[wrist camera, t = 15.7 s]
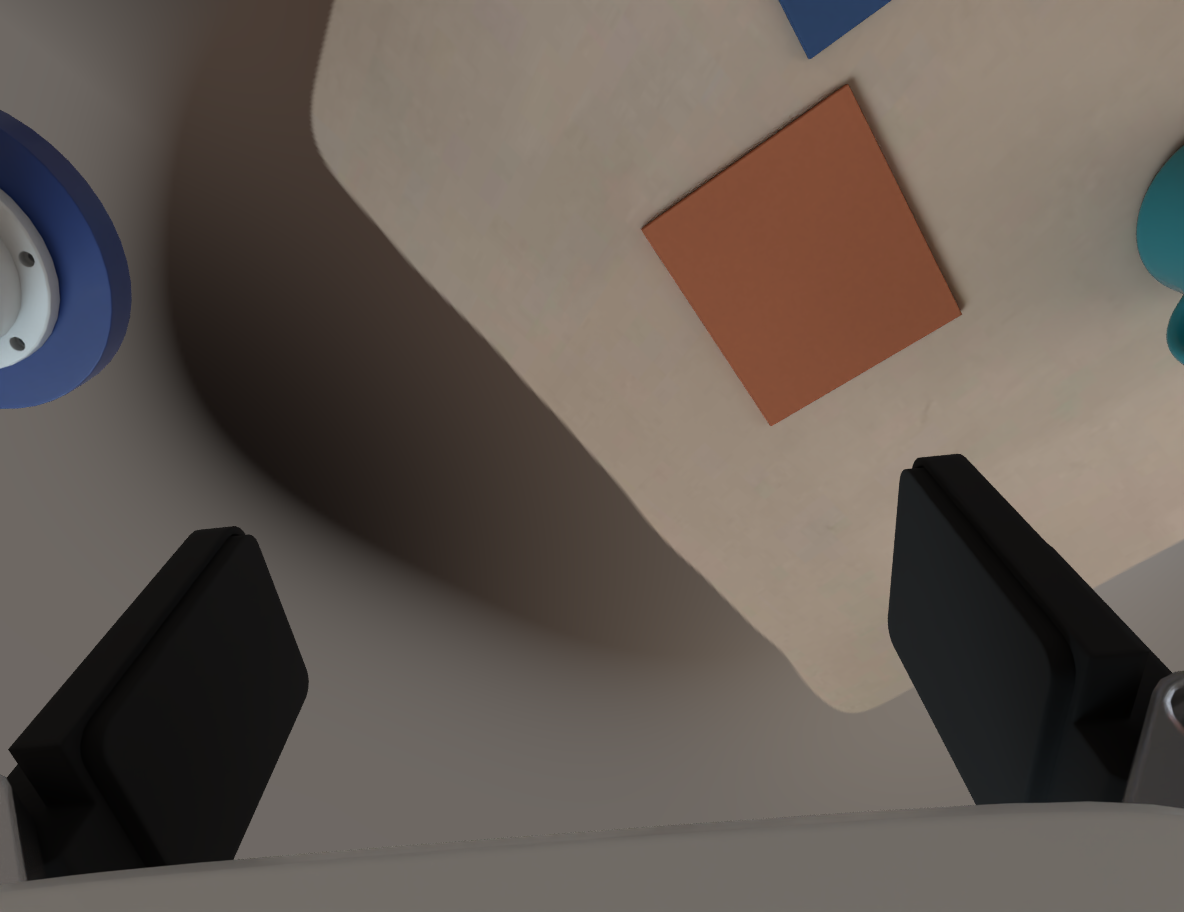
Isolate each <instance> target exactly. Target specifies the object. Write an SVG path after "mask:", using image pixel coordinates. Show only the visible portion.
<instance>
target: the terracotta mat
mask: <svg viewBox="0 0 1184 912" xmlns="http://www.w3.org/2000/svg"><path fill="white" fill-rule="evenodd" d="M641 230H642V232H643V233H644V235H645V236H646V238H647V239H648V241H649V242H650V244H651V246H652V247H653V249H654V250H655V252H656V253H657V255H658V256H659V258H660V259H661V261H662V262H663V264H664V265H665V267H666V268H667V270H668V271H669V273H670V274H671V276H672V277H673V279H674V280H675V282H676V283H677V285H678V286H679V288H680V290H681V291H682V293H683V294H684V296H685V297H686V299H687V300H688V302H689V303H690V305H691V306H692V308H693V309H694V311H695V312H696V314H697V315H698V317H699V318H700V320H701V321H702V323H703V324H704V326H705V327H706V329H707V331H708V332H709V334H710V335H711V337H712V338H713V340H714V341H715V343H716V344H717V346H718V347H719V349H720V350H721V352H722V353H723V355H724V356H725V358H726V359H727V361H728V362H729V364H730V365H731V367H732V368H733V370H734V371H735V373H736V375H737V376H738V378H739V379H740V381H741V382H742V384H743V385H744V387H745V388H746V390H747V391H748V393H749V394H750V396H751V397H752V399H753V400H754V402H755V403H756V405H757V406H758V408H759V409H760V411H761V412H762V414H763V415H764V417H765V419H766V420H767V422H768V423H769V425H770V426H772V425H774V424H776V423H778V422H779V421H781V420H783V419H784V418H786V417H788V416H790V415H791V414H793V413H795V412H796V411H798V410H800V409H801V408H803V407H805V406H807V405H808V404H810V403H812V402H813V401H815V400H817V399H819V398H820V397H822V396H824V395H825V394H827V393H829V392H831V391H832V390H834V389H836V388H837V387H839V386H841V385H842V384H844V383H846V382H848V381H849V380H851V379H853V378H854V377H856V376H858V375H860V374H861V373H863V372H865V371H866V370H868V369H870V368H872V367H873V366H875V365H877V364H878V363H880V362H882V361H883V360H885V359H887V358H889V357H890V356H892V355H894V354H895V353H897V352H899V351H901V350H902V349H904V348H906V347H907V346H909V345H911V344H913V343H914V342H916V341H918V340H919V339H921V338H923V337H925V336H926V335H928V334H930V333H931V332H933V331H935V330H936V329H938V328H940V327H942V326H943V325H945V324H947V323H948V322H950V321H952V320H954V319H955V318H957V317H959V316H960V315H962V313H961V311H960V309H959V307H958V305H957V303H956V301H955V299H954V297H953V295H952V293H951V291H950V289H949V287H948V285H947V283H946V281H945V279H944V277H943V275H942V273H941V271H940V269H939V267H938V265H937V263H936V261H935V259H934V257H933V255H932V252H931V250H930V248H929V246H928V244H927V242H926V240H925V238H924V236H923V234H922V232H921V230H920V228H919V226H918V224H917V222H916V220H915V218H914V216H913V214H912V212H911V210H910V208H909V206H908V204H907V202H906V200H905V198H904V196H903V194H902V192H901V190H900V188H899V186H898V184H897V182H896V180H895V178H894V176H893V174H892V172H891V170H890V168H889V166H888V164H887V162H886V160H885V157H884V155H883V153H882V151H881V149H880V147H879V145H878V143H877V141H876V139H875V137H874V135H873V133H872V131H871V129H870V127H869V125H868V123H867V121H866V119H865V117H864V115H863V113H862V111H861V109H860V107H859V105H858V103H857V101H856V99H855V97H854V95H853V93H852V91H851V89H850V87H849V85H848V84H845V85H844V86H843V87H841V88H840V89H838V90H837V91H835V92H834V93H833V94H831V95H830V96H828V97H827V98H826V99H824V100H823V101H821V102H820V103H818V104H817V105H816V106H814V107H813V108H811V109H810V110H809V111H807V112H806V113H804V114H803V115H801V116H800V117H799V118H797V119H796V120H794V121H793V122H792V123H790V124H789V125H787V126H786V127H784V128H783V129H782V130H780V131H779V132H777V133H776V134H775V135H773V136H772V137H770V138H769V139H767V140H766V141H765V142H763V143H762V144H760V145H759V146H758V147H756V148H755V149H753V150H752V151H750V152H749V153H748V154H746V155H745V156H743V157H742V158H741V159H739V160H738V161H736V162H735V163H733V164H732V165H731V166H729V167H728V168H726V169H725V170H724V171H722V172H721V173H719V174H718V175H716V176H715V177H714V178H712V179H711V180H709V181H708V182H707V183H705V184H704V185H702V186H701V187H699V188H698V189H697V190H695V191H694V192H692V193H691V194H690V195H688V196H687V197H685V198H684V199H682V200H681V201H680V202H678V203H677V204H675V205H674V206H673V207H671V208H670V209H668V210H667V211H665V212H664V213H663V214H661V215H660V216H658V217H657V218H656V219H654V220H653V221H651V222H650V223H648V224H647V225H646V226H644V227H643V228H642V229H641Z"/></svg>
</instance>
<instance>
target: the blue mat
mask: <svg viewBox="0 0 1184 912" xmlns="http://www.w3.org/2000/svg"><path fill="white" fill-rule="evenodd" d="M890 1H891V0H779V2H780V4H781V6H782V8H783V10H784V12H785V14H786V16H787V18H788V20H789V22H790V24H791V26H792V28H793V29H794V31H795V33H796V35H797V37H798V39H799V41H800V43H801V45H802V47H803V49H804V51H805V53H806V55H807V57H808V59H811V58H813V57H814V56H815V55H817V54H818V53H820V52H821V51H822V50H824V49H825V48H826V47H828V46H829V45H831V44H832V43H833V42H835V41H836V40H837V39H839V38H840V37H842V36H843V35H844V34H846V33H847V32H848V31H850V30H851V29H853V28H854V27H855V26H857V25H858V24H859V23H861V22H862V21H864V20H865V19H866V18H868V17H869V16H870V15H872V14H873V13H875V12H876V11H877V10H879V9H880V8H881V7H883V6H884V5H886V4H887V3H888V2H890Z"/></svg>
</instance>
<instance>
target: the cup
mask: <svg viewBox="0 0 1184 912" xmlns="http://www.w3.org/2000/svg"><path fill="white" fill-rule="evenodd" d="M1136 241H1137V247H1138V251H1139V255H1140V257H1141V260H1142V262H1143V264H1144V266H1145V267H1146V269H1147V270H1148V272H1149V273H1150V274H1151V275H1152V276H1153V277H1154V278H1155V279H1156V280H1157V281H1158V282H1160V283H1161V284H1163V285H1164V286H1166V287H1168V288H1170V289H1172V290H1174V291H1177V292H1179V293H1182V294H1183V296H1182V298H1181V299H1180V301H1179V303H1178V304H1177V306H1176V307H1175V309H1174V311H1173V313H1172V315H1171V317H1170V320H1169V323H1168V327H1167V333H1166V339H1167V344H1168V347H1169V349H1170V351H1171V353H1172V355H1173V356H1174V357H1175V358H1176V359H1177V360H1178V361H1179V362H1180V363H1181V364H1183V365H1184V145H1183V146H1182V147H1181V148H1180V149H1178V150H1177V151H1176V152H1175V153H1174V154H1173V155H1172V156H1171V157H1170V158H1169V160H1168V161H1167V162H1166V163H1165V164H1164V165H1163V167H1162V168H1161V169H1160V171H1159V172H1158V173H1157V175H1156V176H1155V178H1154V179H1153V181H1152V183H1151V184H1150V186H1149V188H1148V190H1147V192H1146V194H1145V196H1144V199H1143V201H1142V204H1141V207H1140V210H1139V215H1138V219H1137V227H1136Z"/></svg>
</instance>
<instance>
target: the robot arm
mask: <svg viewBox="0 0 1184 912" xmlns="http://www.w3.org/2000/svg"><path fill="white" fill-rule="evenodd" d="M59 304H60V294H59V282H58V277H57V274H56V270H55V267H54V263H53V260H52V257H51V255H50V253H49V251H48V249H47V247H46V245H45V242H44V240H43V238H42V237H41V235H40V234H39V232H38V231H37V229H36V228H35V226H34V225H33V223H32V222H31V220H30V219H29V217H28V216H27V215H26V214H25V213H24V212H23V211H22V209H21V208H20V207H19V206H18V205H17V204H16V203H15V202H14V200H13V199H12V198H11V197H10V196H8V195H7V194H6V193H5V192H4V191H3V190H1V189H0V369H1V368H4V367H7V366H11V365H13V364H15V363H17V362H19V361H21V360H23V359H25V358H27V357H29V356H30V355H31V354H33V353H34V352H35V351H37V350H38V349H39V348H40V347H42V346H43V344H44V343H45V341H46V340H47V339H48V337H49V336H50V335H51V333H52V331H53V328H54V326H55V323H56V321H57V318H58V311H59ZM888 629H889V634H890V638H891V641H892V644H893V646H894V648H895V650H896V652H897V654H898V656H899V658H900V659H901V661H902V663H903V665H904V667H905V669H906V671H907V673H908V675H909V677H910V679H911V681H912V683H913V684H914V686H915V688H916V690H917V692H918V694H919V696H920V698H921V700H922V702H923V704H924V705H925V708H926V709H927V711H928V713H929V715H930V717H931V719H932V721H933V723H934V725H935V727H936V729H937V730H938V733H939V734H940V736H941V738H942V740H943V742H944V744H945V746H946V748H947V750H948V752H949V754H950V755H951V757H952V759H953V761H954V763H955V765H956V767H957V769H958V771H959V773H960V775H961V777H962V779H963V781H964V783H965V785H966V786H967V788H968V790H969V792H970V794H971V796H972V798H973V800H974V802H975V804H976V805H968V806H952V807H935V808H919V809H900V810H881V811H864V812H852V813H851V812H850V813H837V814H822V815H809V816H794V817H780V818H766V819H752V820H738V821H725V822H711V823H696V824H683V825H668V826H654V827H641V828H628V829H615V830H601V831H588V832H576V833H562V834H549V835H536V836H523V837H510V838H497V839H484V840H471V841H459V842H446V843H435V844H421V845H407V846H395V847H383V848H371V849H359V850H347V851H334V852H323V853H310V854H299V855H286V856H274V857H262V858H250V859H238V860H233V859H234V857H235V855H236V852H237V850H238V848H239V846H240V843H241V841H242V839H243V837H244V835H245V832H246V830H247V828H248V826H249V823H250V821H251V819H252V817H253V814H254V812H255V810H256V808H257V806H258V803H259V801H260V799H261V797H262V794H263V792H264V790H265V788H266V785H267V783H268V781H269V779H270V777H271V774H272V772H273V770H274V768H275V765H276V763H277V761H278V759H279V756H280V754H281V752H282V750H283V748H284V745H285V743H286V741H287V738H288V736H289V734H290V732H291V730H292V727H293V725H294V723H295V721H296V718H297V716H298V714H299V712H300V710H301V707H302V705H303V703H304V700H305V698H306V695H307V692H308V683H309V680H308V673H307V669H306V667H305V664H304V662H303V659H302V656H301V654H300V651H299V649H298V646H297V643H296V641H295V638H294V635H293V633H292V630H291V628H290V625H289V622H288V620H287V617H286V615H285V612H284V610H283V607H282V604H281V602H280V599H279V596H278V594H277V592H276V589H275V586H274V583H273V581H272V578H271V576H270V573H269V570H268V568H267V565H266V563H265V560H264V557H263V555H262V552H261V550H260V548H259V544H258V542H257V541H256V539H255V538H254V537H253V536H252V535H245V533H244V532H243V531H242V530H241V529H240V528H239V527H236V526H232V527H223V528H213V529H202V530H197V531H194V532H193V533H192V534H191V535H189V537H188V538H187V539H186V540H185V541H184V543H183V544H182V545H181V546H180V547H179V548H178V550H177V551H176V552H175V553H174V554H173V556H172V557H171V558H170V559H169V560H168V561H167V563H166V564H165V565H164V566H163V567H162V569H161V570H160V571H159V572H158V573H157V575H156V576H155V577H154V578H153V579H152V580H151V582H150V583H149V584H148V585H147V586H146V588H145V589H144V590H143V591H142V592H141V593H140V595H139V596H138V597H137V598H136V599H135V601H134V602H133V603H132V604H131V605H130V606H129V607H128V609H127V610H126V611H125V612H124V613H123V615H122V616H121V617H120V618H119V619H118V620H117V622H116V623H115V624H114V625H113V626H112V628H111V629H110V630H109V631H108V632H107V633H106V635H105V636H104V637H103V638H102V639H101V641H100V642H99V643H98V644H97V645H96V646H95V648H94V649H93V650H92V651H91V652H90V654H89V655H88V656H87V657H86V659H84V661H83V662H82V663H81V664H80V665H79V667H78V668H77V669H76V670H75V671H74V672H73V674H72V675H71V676H70V677H69V678H68V679H67V681H66V682H65V683H64V684H63V685H62V687H61V688H60V689H59V690H58V692H57V693H56V694H55V695H54V696H53V697H52V698H51V700H50V701H49V702H48V703H47V704H46V706H45V707H44V708H43V709H42V710H41V711H40V713H39V714H38V715H37V716H36V717H35V718H34V720H33V721H32V722H31V723H30V724H29V726H28V727H27V728H26V729H25V730H24V731H23V733H22V734H21V735H20V736H19V737H18V739H17V740H16V741H15V742H14V743H13V744H12V746H11V747H10V748H9V749H8V750H9V751H10V753H11V754H12V756H13V757H14V759H15V760H16V762H17V763H18V765H17V766H16V767H15V768H14V770H13V771H12V772H11V773H10V774H9V776H8V777H7V778H6V777H5V776H2V775H0V912H1184V671H1178V672H1174V673H1172V672H1171V671H1170V670H1169V669H1168V668H1167V667H1166V666H1165V665H1164V664H1163V663H1162V662H1161V661H1160V659H1159V658H1157V656H1156V655H1155V654H1154V653H1153V652H1152V651H1151V650H1150V649H1149V648H1148V647H1147V646H1146V645H1145V644H1144V643H1143V642H1142V641H1141V640H1140V639H1139V637H1138V636H1137V635H1135V633H1134V632H1133V631H1132V630H1131V629H1130V628H1129V627H1128V626H1127V625H1126V624H1125V623H1124V622H1123V621H1122V620H1121V619H1120V618H1119V616H1117V614H1116V613H1114V611H1113V610H1112V609H1111V608H1110V607H1109V606H1108V605H1107V604H1106V603H1105V602H1104V601H1103V600H1102V599H1101V598H1100V597H1099V596H1098V595H1097V593H1095V591H1094V590H1093V589H1092V588H1091V587H1090V586H1089V585H1088V584H1087V583H1086V582H1085V581H1084V580H1083V579H1082V578H1081V577H1080V576H1079V575H1078V573H1077V572H1076V571H1075V570H1074V569H1073V568H1072V567H1071V566H1070V565H1069V564H1068V563H1067V562H1066V561H1065V560H1064V559H1063V558H1062V557H1061V556H1060V555H1059V554H1058V552H1057V551H1056V550H1055V549H1054V548H1053V547H1051V546H1050V545H1049V544H1047V543H1046V542H1045V541H1044V540H1043V539H1042V537H1041V536H1040V535H1039V534H1038V533H1037V532H1036V531H1035V530H1034V529H1033V528H1032V527H1031V526H1030V525H1029V524H1028V523H1027V522H1026V521H1025V520H1024V519H1023V517H1022V516H1021V515H1020V514H1019V513H1018V512H1017V511H1016V510H1015V509H1014V508H1013V507H1012V506H1011V505H1010V504H1009V503H1008V502H1007V501H1006V500H1005V499H1004V497H1003V496H1002V495H1001V494H1000V493H999V492H998V491H997V490H996V489H995V488H994V487H993V486H992V485H991V484H990V483H989V482H988V481H987V480H986V479H985V477H984V476H983V475H982V474H981V473H980V472H979V471H978V470H977V469H976V468H975V467H974V466H973V465H972V464H971V463H970V462H969V461H968V460H967V459H966V457H964V456H963V455H961V454H951V455H941V456H931V457H921V458H917V459H916V460H915V462H914V464H913V467H912V469H904V470H903V471H902V473H901V476H900V482H899V494H898V506H897V517H896V529H895V541H894V553H893V564H892V576H891V588H890V599H889V611H888Z"/></svg>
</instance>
